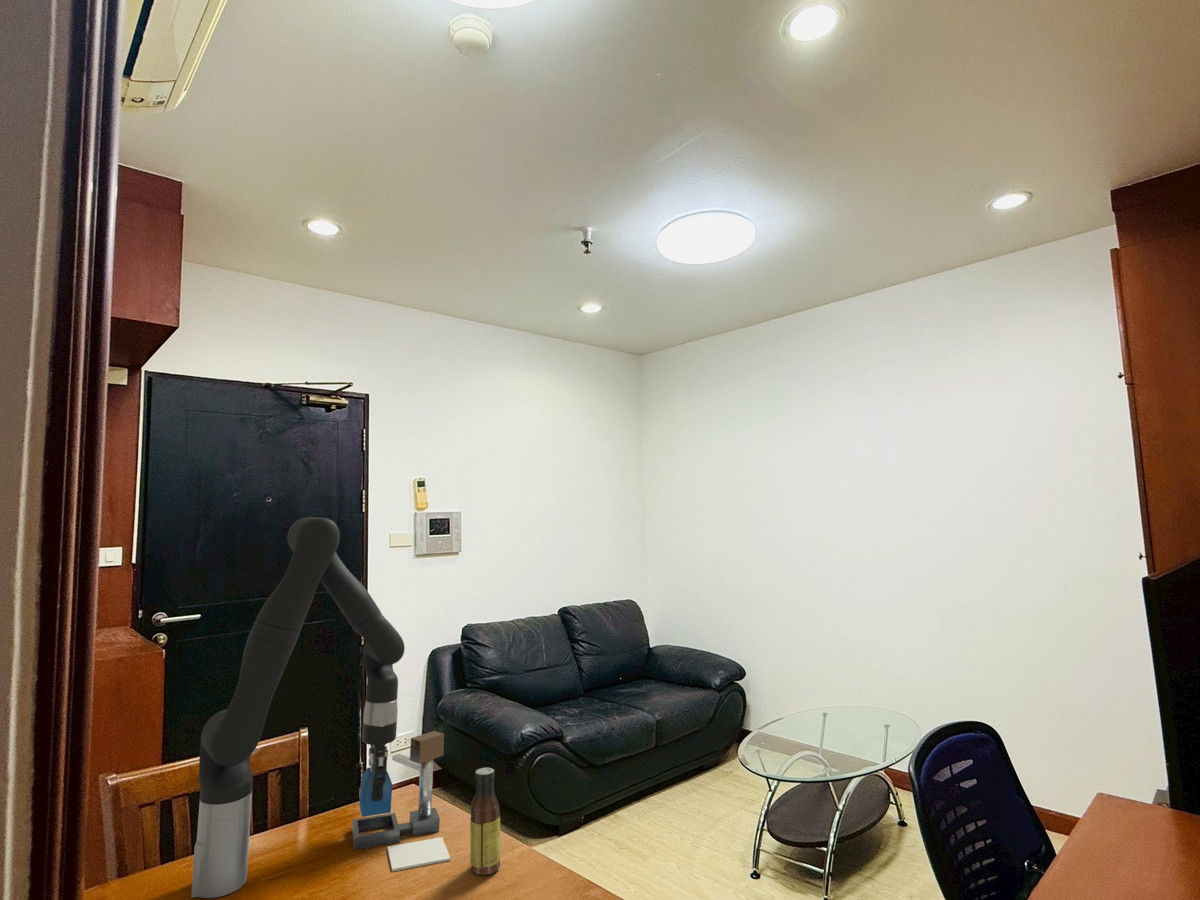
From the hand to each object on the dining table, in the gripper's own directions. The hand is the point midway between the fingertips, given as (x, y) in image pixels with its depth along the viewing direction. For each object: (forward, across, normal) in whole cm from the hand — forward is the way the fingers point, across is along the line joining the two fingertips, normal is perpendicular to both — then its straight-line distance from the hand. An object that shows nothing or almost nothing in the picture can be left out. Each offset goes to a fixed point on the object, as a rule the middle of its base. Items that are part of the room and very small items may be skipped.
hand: (375, 794), depth 153 cm
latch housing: (+9, 0, +5) cm, 11 cm away
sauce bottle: (+9, +23, +20) cm, 32 cm away
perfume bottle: (+3, 0, 0) cm, 3 cm away
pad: (+9, +12, +8) cm, 17 cm away
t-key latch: (+6, -5, +9) cm, 12 cm away
